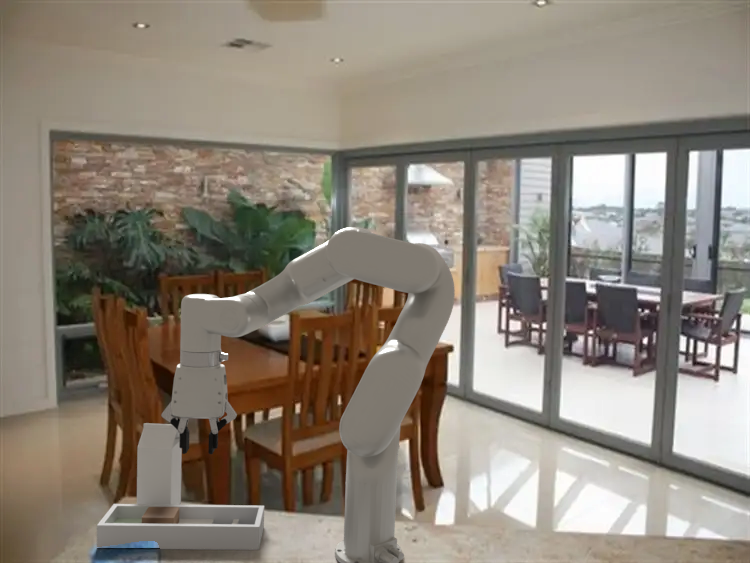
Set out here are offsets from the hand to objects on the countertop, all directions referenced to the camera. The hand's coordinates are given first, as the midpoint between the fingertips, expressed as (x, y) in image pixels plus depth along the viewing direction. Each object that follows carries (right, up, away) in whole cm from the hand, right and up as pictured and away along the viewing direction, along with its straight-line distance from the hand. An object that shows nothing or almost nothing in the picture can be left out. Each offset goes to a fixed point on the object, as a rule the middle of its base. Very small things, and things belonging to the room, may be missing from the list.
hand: (198, 450), depth 133 cm
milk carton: (-12, -16, +13) cm, 24 cm away
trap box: (-3, -17, +1) cm, 18 cm away
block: (-8, -15, +1) cm, 17 cm away
